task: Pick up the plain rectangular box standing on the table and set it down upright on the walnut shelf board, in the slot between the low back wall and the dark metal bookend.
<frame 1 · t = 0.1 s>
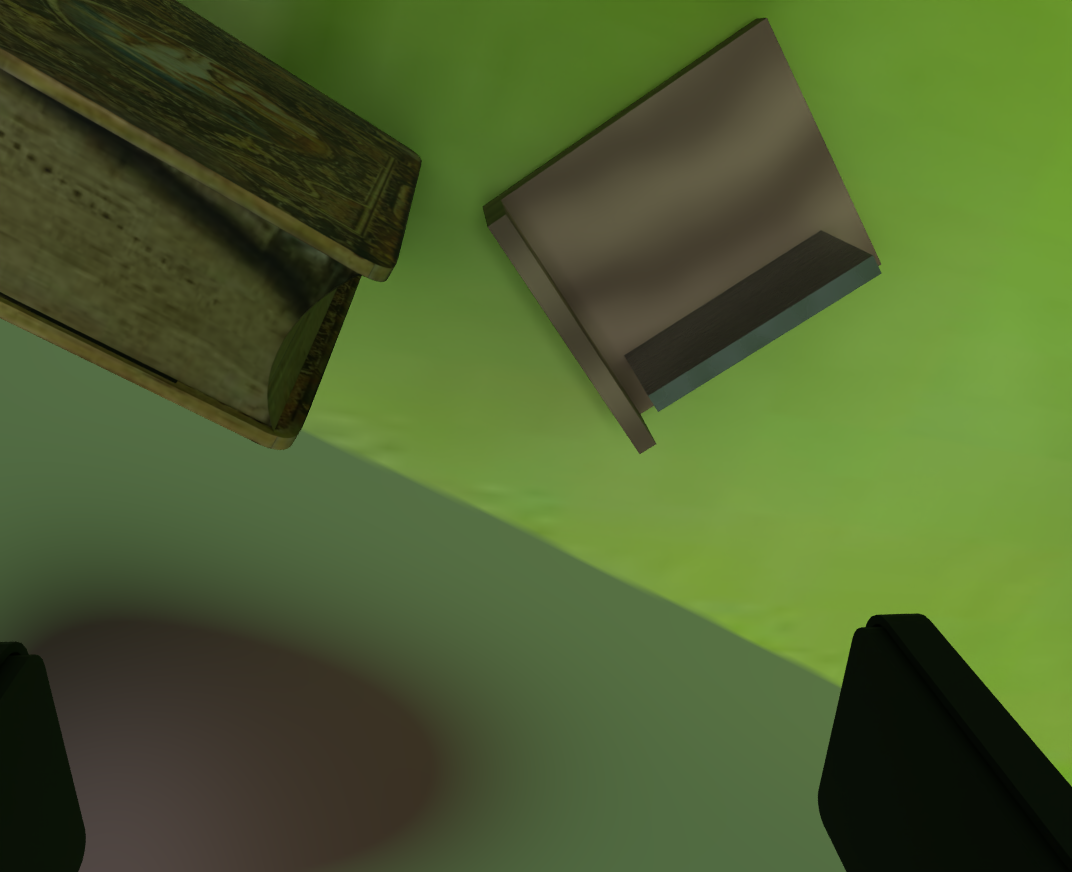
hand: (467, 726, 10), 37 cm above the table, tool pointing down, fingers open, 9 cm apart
book: (244, 111, 41), on the table
shelf: (682, 233, 46), on the table
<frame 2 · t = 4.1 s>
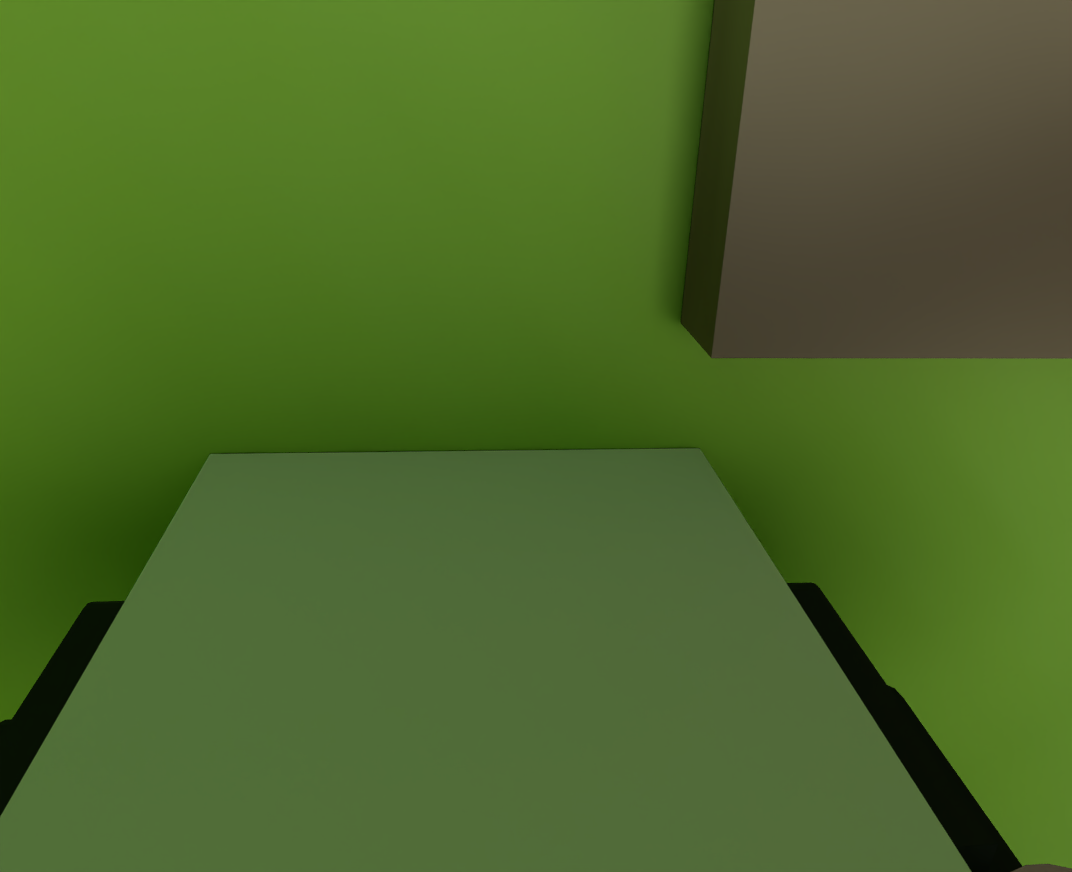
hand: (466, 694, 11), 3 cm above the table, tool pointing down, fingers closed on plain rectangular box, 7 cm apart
plain rectangular box: (462, 569, 13), on the table, touching gripper
when the fingers open (6 cm above the table, at t = 11.3 s): plain rectangular box drops 2 cm, resting on shelf.
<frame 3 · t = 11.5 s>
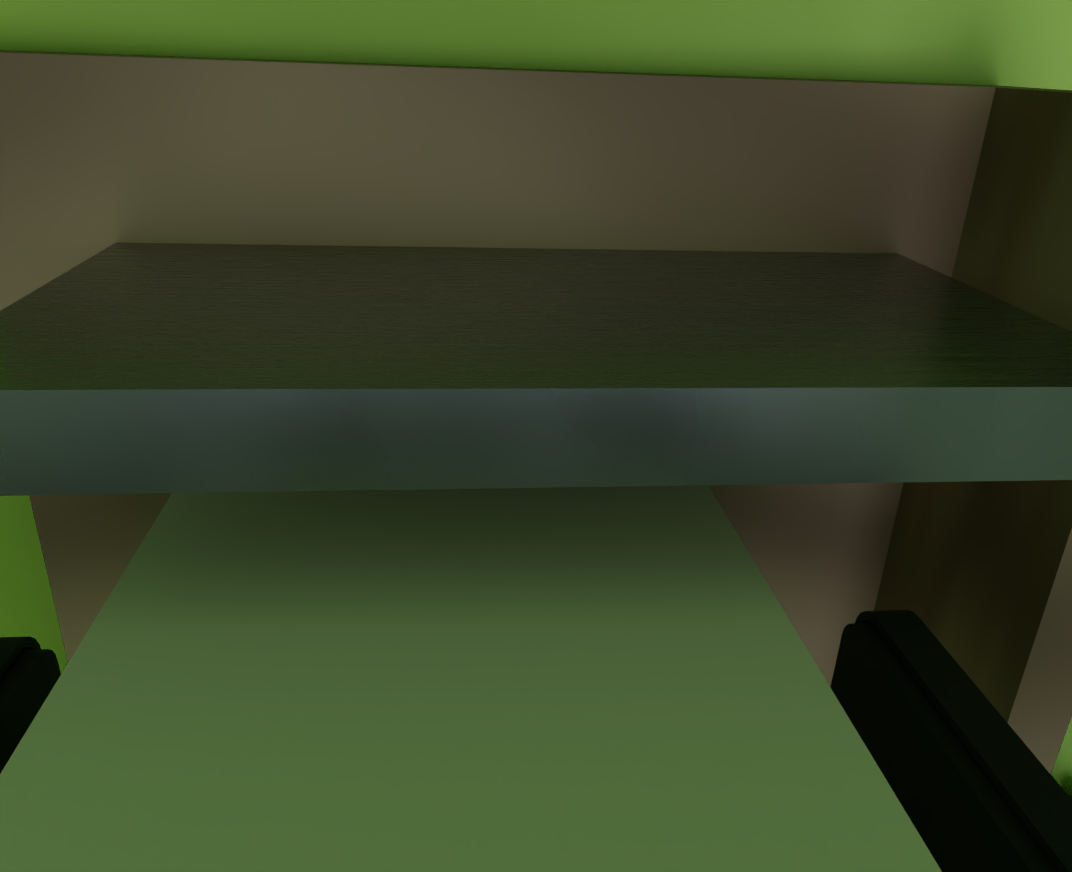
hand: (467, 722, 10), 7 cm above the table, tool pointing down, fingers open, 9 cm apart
shelf: (511, 468, 16), on the table
plain rectangular box: (448, 509, 15), point 1 cm above the table, touching shelf
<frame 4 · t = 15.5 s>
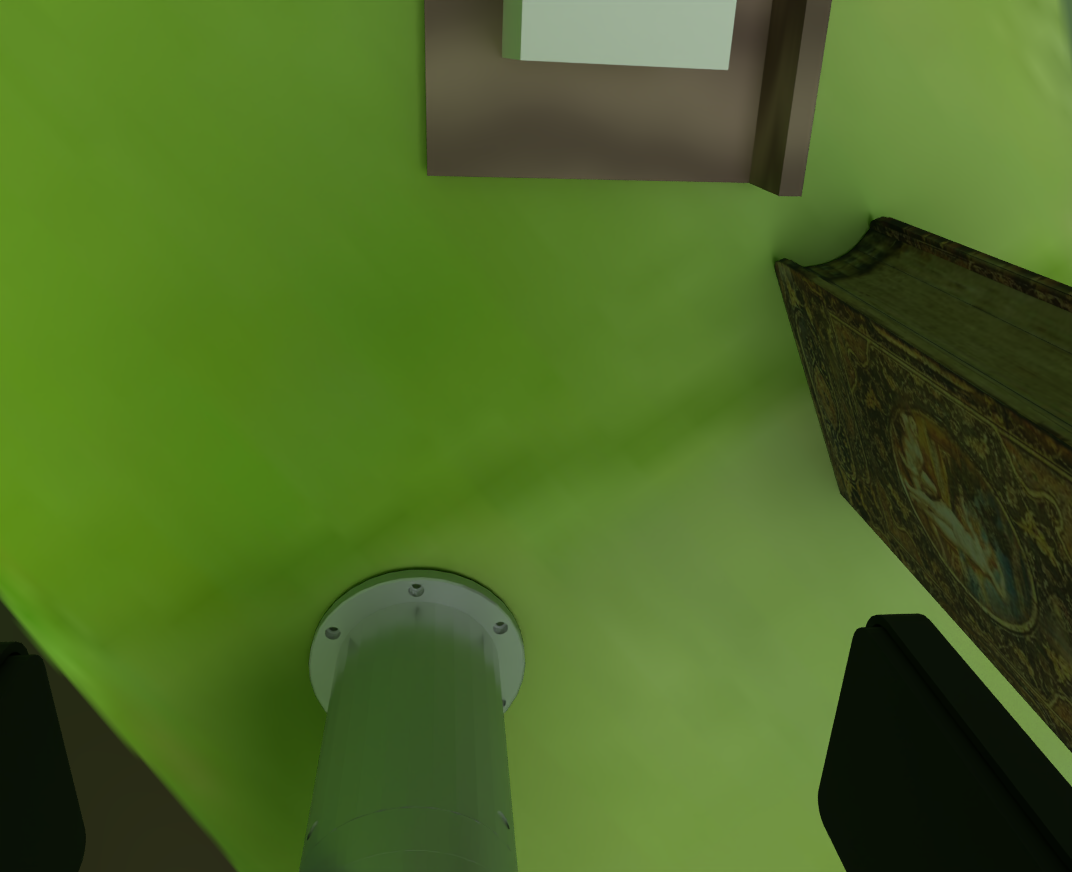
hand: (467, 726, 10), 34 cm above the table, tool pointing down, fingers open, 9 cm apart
book: (856, 370, 47), on the table
shelf: (606, 12, 38), on the table
plain rectangular box: (584, 10, 37), point 1 cm above the table, touching shelf
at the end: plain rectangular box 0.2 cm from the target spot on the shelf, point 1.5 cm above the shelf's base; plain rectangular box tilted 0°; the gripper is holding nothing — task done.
